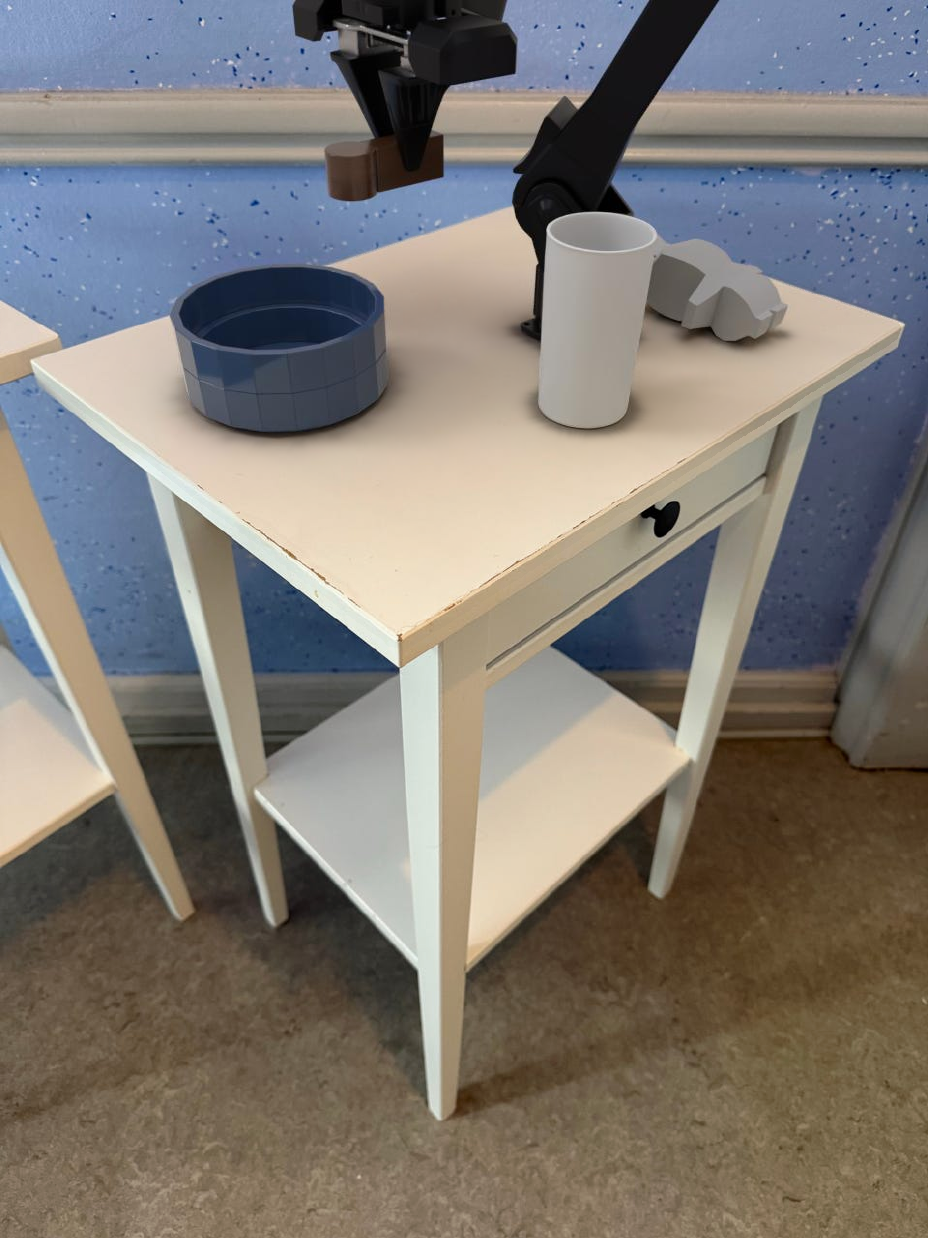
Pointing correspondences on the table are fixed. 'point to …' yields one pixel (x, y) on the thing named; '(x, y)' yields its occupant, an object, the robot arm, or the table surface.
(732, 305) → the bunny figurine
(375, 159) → the brown round-ended block
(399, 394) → the table surface
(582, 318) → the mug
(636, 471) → the table surface
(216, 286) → the bowl
